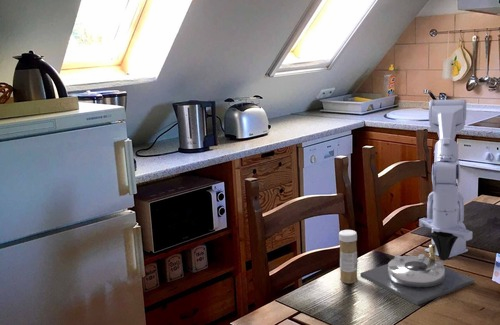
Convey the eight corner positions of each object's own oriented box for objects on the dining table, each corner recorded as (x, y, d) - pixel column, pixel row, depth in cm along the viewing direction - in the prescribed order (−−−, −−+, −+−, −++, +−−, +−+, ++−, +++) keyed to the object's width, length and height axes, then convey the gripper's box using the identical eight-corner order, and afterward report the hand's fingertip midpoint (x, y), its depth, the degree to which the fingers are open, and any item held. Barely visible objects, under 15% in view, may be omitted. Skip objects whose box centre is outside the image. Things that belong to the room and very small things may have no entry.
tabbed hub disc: (414, 260, 150) (415, 236, 148) (456, 277, 138) (457, 252, 136) (376, 273, 143) (376, 249, 142) (417, 292, 131) (417, 266, 130)
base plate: (414, 258, 154) (414, 254, 154) (474, 282, 137) (474, 278, 137) (360, 276, 144) (360, 272, 144) (417, 305, 127) (417, 301, 127)
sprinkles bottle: (346, 275, 146) (345, 227, 143) (361, 279, 143) (360, 231, 140) (336, 281, 142) (335, 233, 140) (351, 285, 139) (350, 236, 136)
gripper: (411, 205, 140) (411, 254, 143) (460, 218, 128) (458, 272, 131) (429, 200, 144) (428, 248, 147) (478, 212, 132) (476, 264, 135)
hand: (444, 259), depth 139 cm, fingers closed
